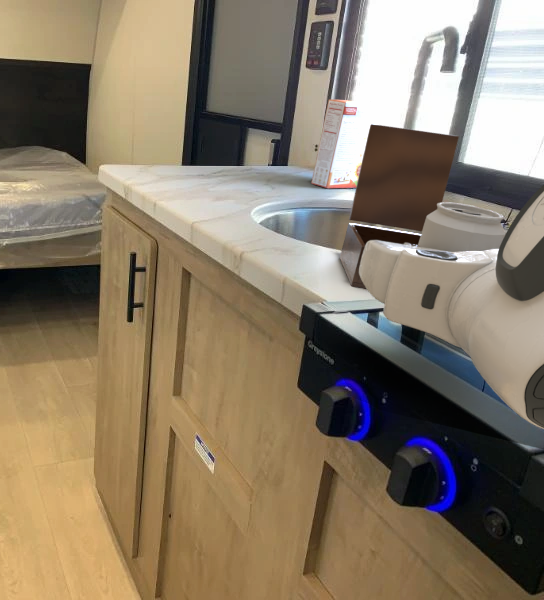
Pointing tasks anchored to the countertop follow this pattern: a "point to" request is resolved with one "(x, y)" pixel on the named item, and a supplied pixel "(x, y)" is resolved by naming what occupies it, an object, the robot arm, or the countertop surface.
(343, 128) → the cracker box
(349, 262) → the chest
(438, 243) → the can
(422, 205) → the lid
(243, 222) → the countertop surface
